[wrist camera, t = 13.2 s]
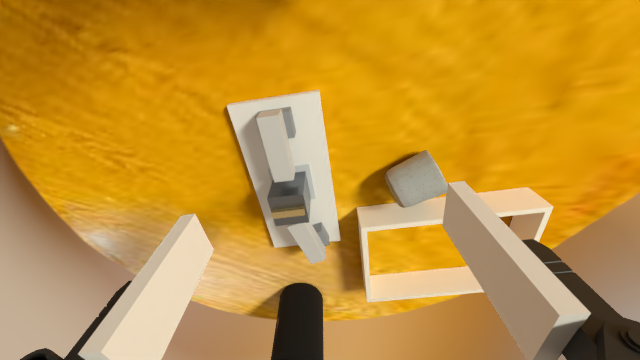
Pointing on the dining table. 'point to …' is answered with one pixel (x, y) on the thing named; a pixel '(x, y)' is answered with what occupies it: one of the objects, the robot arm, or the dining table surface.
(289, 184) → the dark grey block
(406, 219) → the tray
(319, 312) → the coffee jar
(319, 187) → the white base plate
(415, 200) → the ceramic mug
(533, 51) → the dining table surface
